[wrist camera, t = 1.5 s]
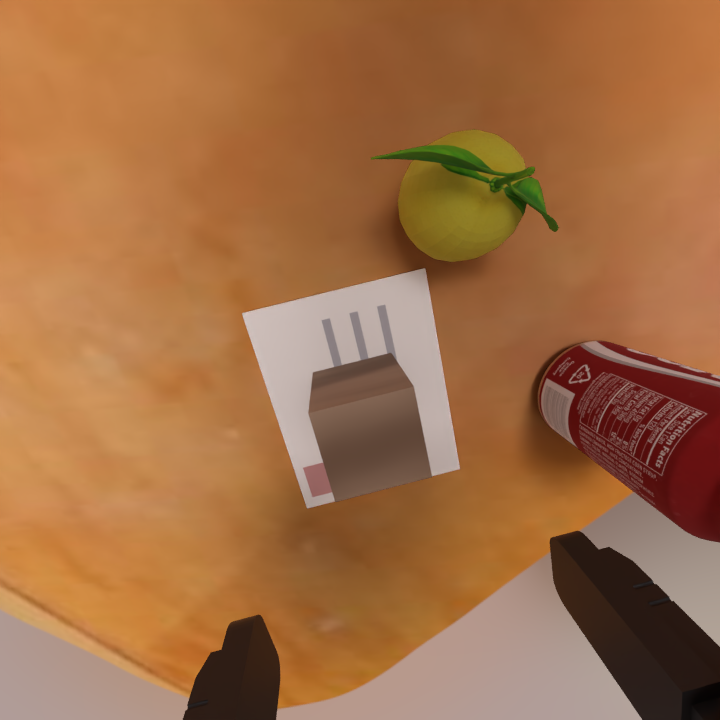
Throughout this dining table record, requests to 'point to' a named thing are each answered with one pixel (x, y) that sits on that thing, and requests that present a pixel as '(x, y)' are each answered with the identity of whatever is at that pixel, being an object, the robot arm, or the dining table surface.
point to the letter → (346, 345)
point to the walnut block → (367, 427)
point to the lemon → (465, 194)
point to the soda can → (642, 426)
